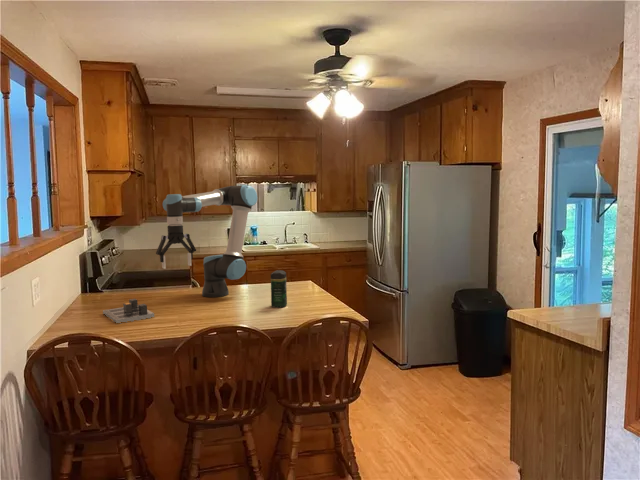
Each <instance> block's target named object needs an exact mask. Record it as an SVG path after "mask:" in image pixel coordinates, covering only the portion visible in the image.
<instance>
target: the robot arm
mask: <svg viewBox="0 0 640 480" xmlns="http://www.w3.org/2000/svg"><path fill="white" fill-rule="evenodd" d="M257 202H258V194H257V191H256V189H255V187H253V186H251V185H245V184H243V185H229V186H224V187H220V188H215V189H213V190H212V191H207V192H200V193H196V194H193V193H192V194H188V195H182V194H181V193H173V194H171V193H170V194H169V193H168V194H167V195H166V196H165V198H164V199H163V201H162V207H163V210H164V211H166V223H167V224H166V225H168V226H166V227H167V228H166V229H167V235H161V238H160V239H161V240H160V242H159V245H158V247H157V249H156V251H155V254H156V255H159V262H160V263H161V268H162V269H164V270H167V265H166V255H165V254H166V252H168V250H169V248H170V247H171V246H172V245H173V244H174V245H175V244H181V245H182V247H184V249H186V251H187V266H190V267H192V266H193V265H192V260H193V258H194V257H193V255H194V254H193V253H194V252H197V249H196V247H195V244H194V243H193V241H192V239H191V237H190V234H189V233H185V234H184V225H183V224H184V219H183V217H184V216H183V214H184V213H197V212H200V211H201V209H202V207H203V208H204V207H208V206H209V207H210V206H214V205H215V206H230V208H231V209H232V216H231V221H230V227H229V233H228V238H227V246H226V251H225V252H224V253H222V254H216V255H215V254H213V255H209V256H205V257H204V258H203V276H204V278H203V279H204V284H203V287H202V290H201V295H202V297H206V298H218V297H224V296H225V297H226V296H228V295H229V288H228V286H227V283H226V279H227V280H239V279H241V278H242V277H243V276H244V275H245V273H246V272H247V271H246V270H247V264H246V261H245V260H244V255H243V254H242V251H243V246H244V240H245V234H246V228H247V227H246V226H247V221H248V215H249V213H250V212H251V211H252V209H253V208H252V207H254V206H255V205H256V203H257ZM184 238H185V240H186V242H187V243H188V244H187V243H186V242H185V240H184ZM166 241H167V242H166ZM165 243H166V244H165Z"/></svg>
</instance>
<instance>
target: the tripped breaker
mask: <svg viewBox="0 0 640 480" xmlns="http://www.w3.org/2000/svg"><path fill="white" fill-rule="evenodd" d="M122 307H124V312H125V313H129V312H132V304H131V303H129V302H125V303H122Z"/></svg>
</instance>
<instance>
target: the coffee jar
mask: <svg viewBox="0 0 640 480" xmlns="http://www.w3.org/2000/svg"><path fill="white" fill-rule="evenodd" d="M287 291H288V289H287V272H286V271H285V270H280V269H278V270H274V271H273V272H272V273H270V298H271V299H270V304H271V307H272V308H278V309H279V308H284V307H286V306H287V304H288V295H287Z"/></svg>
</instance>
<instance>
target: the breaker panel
mask: <svg viewBox="0 0 640 480" xmlns="http://www.w3.org/2000/svg"><path fill="white" fill-rule="evenodd" d="M128 303H131V304H132V312H129V313H125V312H124V307H123V306H122V307H116V308H110V309H104V310H102V315H103V314H105V315H106V316H107V317H109V318H110V319H112V320H113V321H114V322H116V323H120V322H126V323H128V322H127V321H131V322H135V321H134V320H137V321H142V320H141V319H143V320H146V318H148V319H152V318H151V317H154V318H155V313H154V312H153V311H151V310H149V309H148V305H147V304H145V303H140V304H138V299H137V298H129V299H128ZM105 315H104V316H105ZM106 316H105V317H106ZM107 317H106V318H107ZM109 318H108V319H109ZM110 319H109V320H110ZM113 321H112V322H113ZM114 322H113V323H114ZM120 324H121V323H120Z"/></svg>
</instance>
